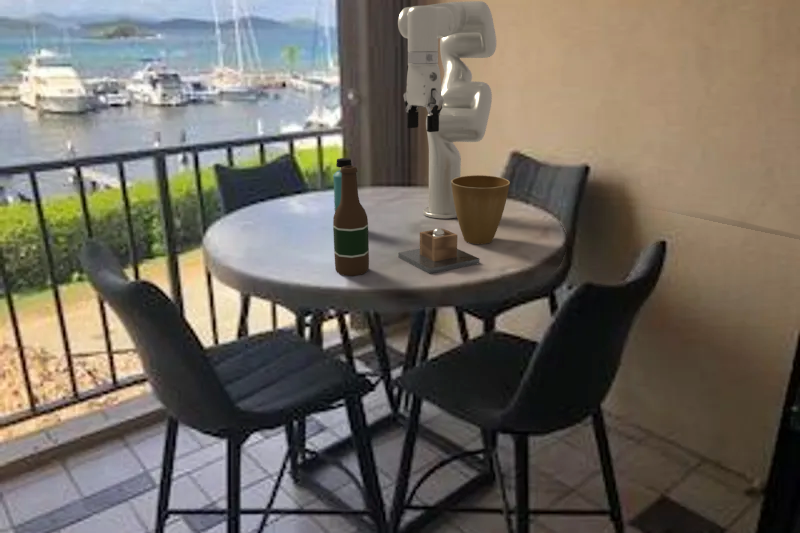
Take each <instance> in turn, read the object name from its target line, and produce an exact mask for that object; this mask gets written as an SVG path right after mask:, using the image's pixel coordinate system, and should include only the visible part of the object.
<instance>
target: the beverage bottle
mask: <svg viewBox="0 0 800 533" xmlns="http://www.w3.org/2000/svg"><path fill="white" fill-rule="evenodd" d="M352 164H353V163H352V159H351V158H349V157H342V158H337V159H336V168H341V167H344V166H353V165H352ZM340 170H341V169H340ZM340 170H336V172H334V173H333V175H332V178H333V196H334V197H333V202H334V212H335V211H336V209H337V208H338V206H339V204H340V200H341V179H342V173H341V172H340Z"/></svg>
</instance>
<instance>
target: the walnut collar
mask: <svg viewBox="0 0 800 533" xmlns="http://www.w3.org/2000/svg"><path fill="white" fill-rule="evenodd" d="M442 229H443V230H444V233H445V236H439V237H434V236H433V231H434V230H435V229H430V230H425V231H424V230H423V231H420V232H419V249H420V255H422V256H424V257H426V258H428V259H430V260H432V261H439V260H444V259H449V258H454V257H457V249H458V234H457V233H454V232H452V231H449V230H447V229H445V228H442Z"/></svg>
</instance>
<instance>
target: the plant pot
mask: <svg viewBox="0 0 800 533" xmlns="http://www.w3.org/2000/svg"><path fill="white" fill-rule="evenodd" d="M451 184H452V192H453V199H454V205H455V210H456V214H457V218H456V219H457V222H458V225H459V228H460V232H461V234H462V236H463V239H464V242H466V243H468V242H469V243H468V244H471V243H473V245H487V244H490V243H492V242H493V240H494V238H495V235H496V233H497V232H498V229H499V225H500V223H501V220H502V217H503V214H504V210H505V208H506V202H507V198H508V193H509V189H510V184H511V182H510V180H508V179H506V178H504V177H500V176H495V175H485V174H481V175H479V174H478V175H477V174H473V175H464V176H460V177H457V178H454V179H453V180H452V181H451ZM486 243H487V244H486Z"/></svg>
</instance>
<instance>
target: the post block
mask: <svg viewBox="0 0 800 533" xmlns="http://www.w3.org/2000/svg"><path fill="white" fill-rule="evenodd" d="M443 229H444V228H442V227H436V228H434V229H433V230H434V231H433V236H434V237H439V236H445V233H444V230H443ZM397 256H398V258H399V259H401V260H402V261H405V262H407V263H408V262H409V264H410V265H412V266H414V265H415V266H414V267H416V268H418V269H419V268H420V270H421V269H422V271H423V272H425V273H427V274H429V275H431V273H432V274H435V273H441V272H445V271H444V270H446V271H449V269H451V270H454V268H455V269H460V268H464V267H463V266H465V267H468V266H467V265H470V266H474V265H478V264H477V263H479V264H480V259H481V258H479V257H477V256H474V255H473V254H470V253H468V252H466V251H463V250H461V249H459V248H457V257H454V258H449V259H444V260H439V261H432V260H430V259H428V258H426V257H424V256H422V255H420V248H415V249H411V250H406V251H405V250H404V251H399V252H398V254H397ZM473 264H474V265H473ZM459 267H460V268H459ZM440 271H441V272H440Z"/></svg>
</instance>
